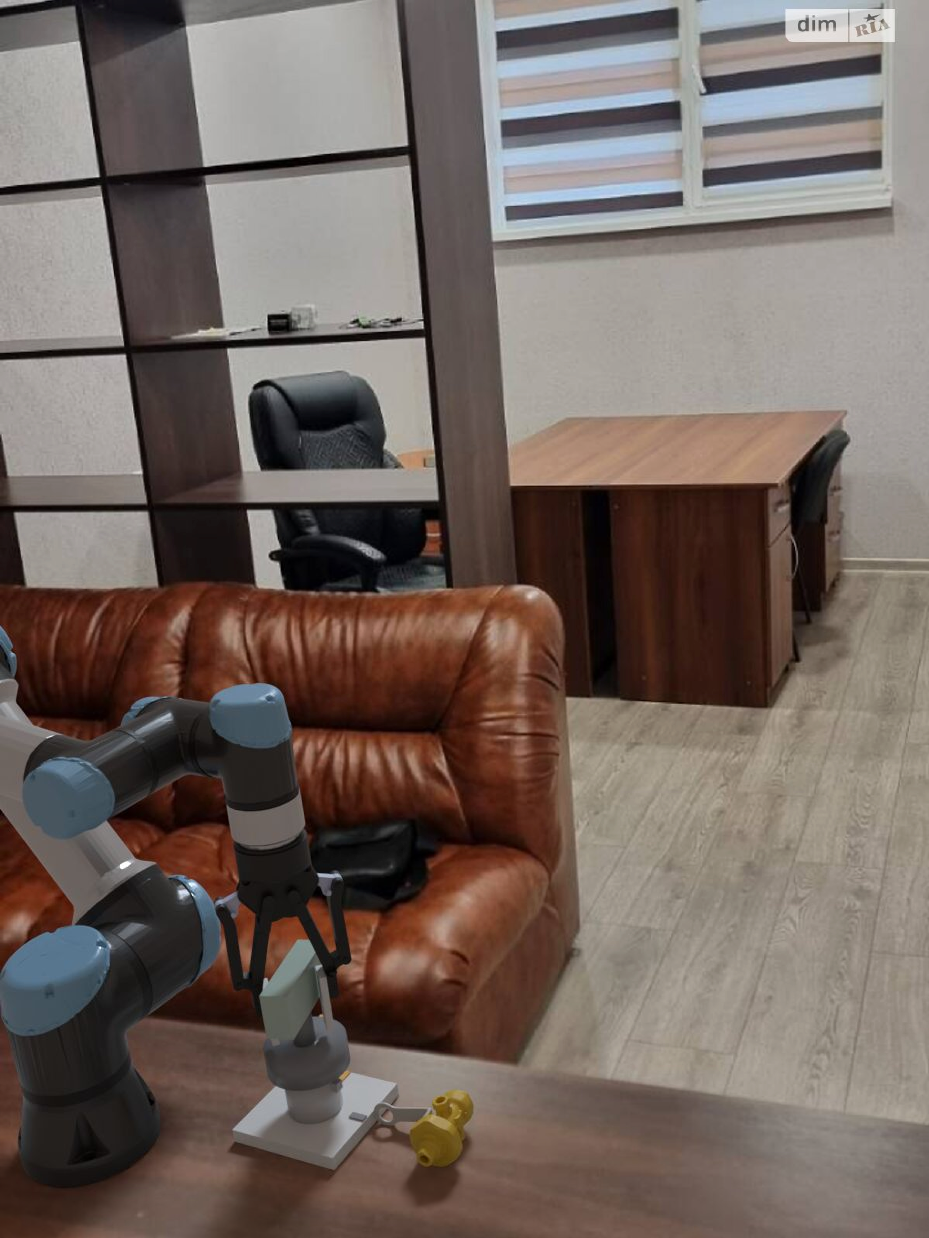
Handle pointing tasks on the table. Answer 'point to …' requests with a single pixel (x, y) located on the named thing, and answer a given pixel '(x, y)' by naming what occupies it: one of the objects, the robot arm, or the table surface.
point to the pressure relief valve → (434, 1126)
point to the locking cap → (300, 1026)
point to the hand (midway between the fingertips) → (301, 1031)
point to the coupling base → (320, 1135)
